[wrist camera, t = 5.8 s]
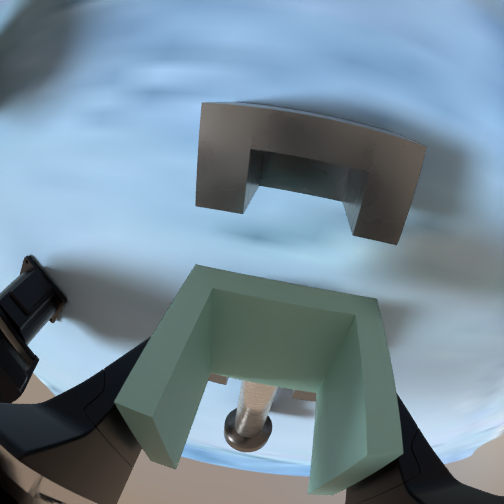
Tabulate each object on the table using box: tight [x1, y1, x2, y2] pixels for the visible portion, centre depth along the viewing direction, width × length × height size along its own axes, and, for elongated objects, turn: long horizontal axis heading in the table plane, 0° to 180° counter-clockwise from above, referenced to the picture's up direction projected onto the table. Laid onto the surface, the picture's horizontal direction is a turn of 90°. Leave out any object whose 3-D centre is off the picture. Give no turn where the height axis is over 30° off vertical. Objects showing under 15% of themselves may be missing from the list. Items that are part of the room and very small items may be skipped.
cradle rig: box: [196, 102, 426, 401], centre depth 14 cm, size 16×8×5 cm, turn 173°
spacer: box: [114, 265, 403, 495], centre depth 8 cm, size 4×6×6 cm
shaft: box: [224, 380, 278, 452], centre depth 20 cm, size 16×4×4 cm, turn 173°
